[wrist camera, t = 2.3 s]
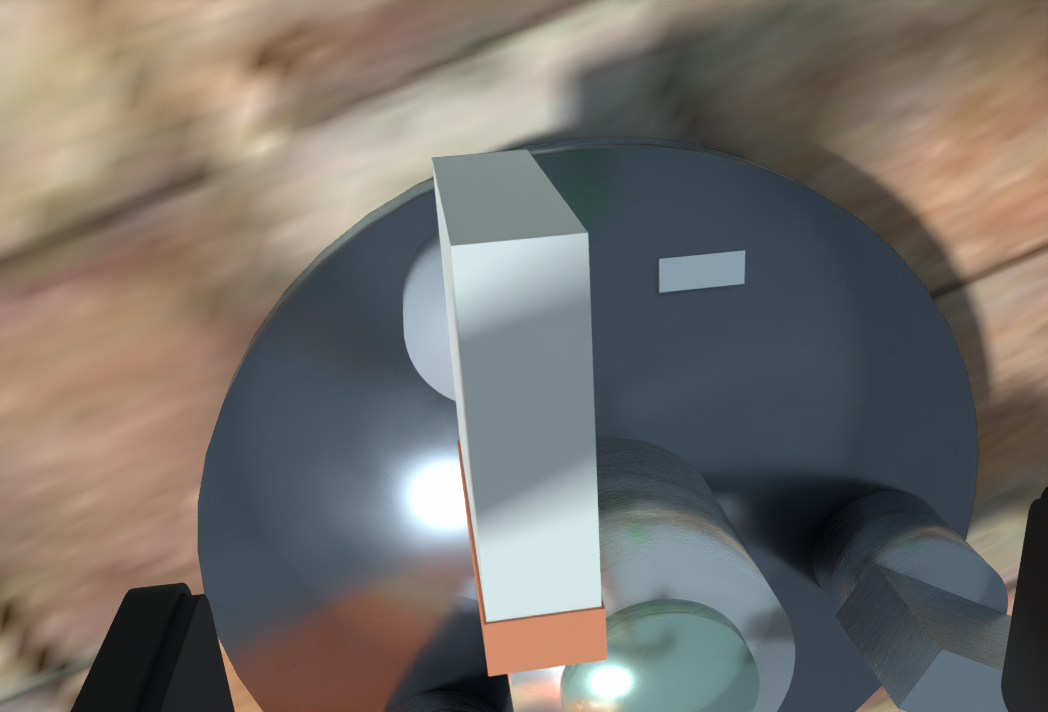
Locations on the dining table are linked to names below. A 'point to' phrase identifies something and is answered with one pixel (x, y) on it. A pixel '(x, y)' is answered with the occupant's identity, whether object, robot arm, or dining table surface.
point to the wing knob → (516, 400)
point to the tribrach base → (660, 368)
